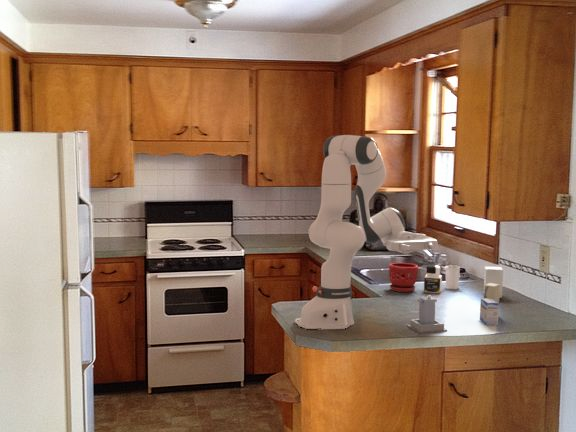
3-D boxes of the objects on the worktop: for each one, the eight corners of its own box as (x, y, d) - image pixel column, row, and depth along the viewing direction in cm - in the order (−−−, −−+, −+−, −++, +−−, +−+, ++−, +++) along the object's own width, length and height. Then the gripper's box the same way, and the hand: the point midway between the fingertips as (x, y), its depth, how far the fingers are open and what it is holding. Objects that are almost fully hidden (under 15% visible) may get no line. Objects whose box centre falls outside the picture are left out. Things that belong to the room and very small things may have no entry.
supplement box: (502, 298, 311) (503, 269, 310) (484, 297, 312) (485, 269, 311) (500, 294, 318) (501, 266, 317) (483, 293, 320) (484, 266, 318)
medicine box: (479, 320, 273) (480, 298, 272) (490, 320, 274) (491, 298, 273) (486, 325, 266) (487, 302, 265) (498, 325, 266) (499, 302, 265)
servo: (421, 329, 258) (422, 297, 257) (416, 326, 262) (416, 294, 261) (437, 328, 260) (438, 296, 259) (431, 325, 264) (432, 293, 263)
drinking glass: (460, 287, 333) (461, 266, 332) (457, 289, 327) (458, 268, 326) (446, 285, 336) (447, 265, 335) (443, 288, 330) (443, 267, 329)
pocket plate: (419, 333, 255) (419, 326, 255) (406, 325, 265) (406, 319, 265) (447, 331, 258) (447, 324, 258) (433, 323, 268) (433, 317, 268)
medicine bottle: (423, 292, 322) (424, 266, 321) (426, 289, 329) (426, 263, 328) (439, 293, 320) (440, 267, 319) (441, 290, 327) (442, 264, 326)
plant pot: (411, 294, 318) (412, 268, 317) (384, 291, 325) (384, 265, 323) (421, 289, 329) (422, 263, 328) (395, 286, 336) (395, 261, 335)
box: (488, 314, 282) (489, 282, 281) (499, 316, 280) (500, 284, 278) (482, 316, 278) (483, 284, 277) (493, 318, 276) (494, 286, 274)
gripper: (381, 235, 282) (396, 240, 268) (427, 233, 287) (444, 238, 274) (380, 251, 282) (395, 257, 269) (427, 249, 288) (444, 254, 275)
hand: (420, 247), depth 272 cm, fingers open, 8 cm apart
